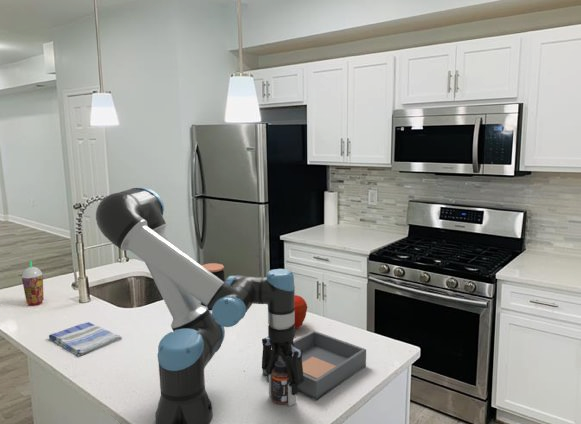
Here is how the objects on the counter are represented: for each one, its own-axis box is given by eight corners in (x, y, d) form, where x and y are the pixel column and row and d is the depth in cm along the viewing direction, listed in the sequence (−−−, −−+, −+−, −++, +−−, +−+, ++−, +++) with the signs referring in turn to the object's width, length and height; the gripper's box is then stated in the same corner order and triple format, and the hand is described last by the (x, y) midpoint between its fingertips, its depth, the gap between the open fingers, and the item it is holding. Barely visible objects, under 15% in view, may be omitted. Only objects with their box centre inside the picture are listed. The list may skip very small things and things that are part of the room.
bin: (316, 400, 135) (316, 381, 134) (262, 374, 149) (262, 357, 148) (365, 366, 154) (366, 349, 153) (313, 346, 168) (313, 330, 167)
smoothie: (20, 306, 208) (15, 262, 204) (35, 299, 216) (30, 257, 212) (35, 308, 206) (30, 264, 202) (50, 301, 213) (45, 259, 210)
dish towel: (79, 359, 161) (78, 351, 161) (47, 340, 176) (46, 333, 175) (124, 341, 174) (123, 334, 174) (91, 325, 189) (90, 318, 188)
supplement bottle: (290, 406, 132) (289, 369, 130) (269, 404, 133) (269, 367, 131) (294, 394, 138) (293, 359, 136) (274, 392, 139) (274, 357, 137)
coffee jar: (198, 303, 209) (196, 265, 206) (221, 299, 214) (220, 262, 211) (204, 312, 200) (202, 271, 197) (228, 307, 204) (227, 268, 201)
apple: (280, 336, 176) (279, 301, 173) (272, 324, 187) (272, 290, 185) (311, 332, 179) (311, 297, 176) (302, 320, 190) (302, 287, 188)
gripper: (317, 329, 128) (317, 406, 132) (265, 311, 141) (267, 381, 145) (299, 338, 122) (300, 418, 126) (247, 319, 135) (249, 391, 139)
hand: (282, 398), depth 135 cm, fingers open, 7 cm apart
